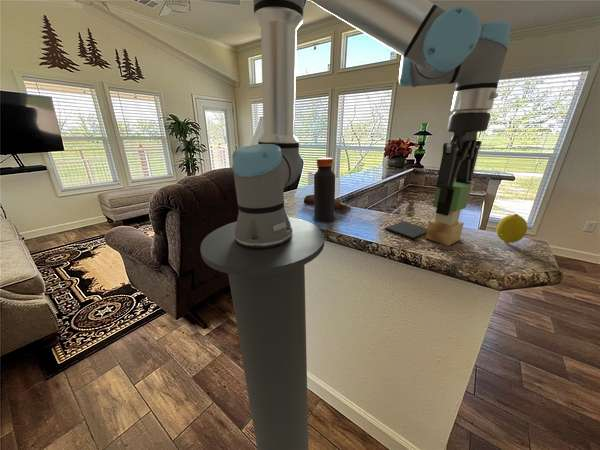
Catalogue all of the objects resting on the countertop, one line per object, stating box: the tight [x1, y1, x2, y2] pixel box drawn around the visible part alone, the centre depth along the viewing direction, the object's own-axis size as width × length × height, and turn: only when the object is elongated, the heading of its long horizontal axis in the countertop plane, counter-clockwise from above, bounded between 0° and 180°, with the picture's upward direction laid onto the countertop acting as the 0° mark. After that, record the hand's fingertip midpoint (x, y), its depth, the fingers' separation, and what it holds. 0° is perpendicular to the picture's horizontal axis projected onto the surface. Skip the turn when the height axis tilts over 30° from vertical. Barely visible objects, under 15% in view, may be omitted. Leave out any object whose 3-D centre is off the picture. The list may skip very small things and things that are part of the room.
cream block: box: [434, 209, 462, 226], centre depth 61 cm, size 4×4×4 cm
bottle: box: [313, 157, 336, 223], centre depth 77 cm, size 7×7×20 cm
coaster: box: [384, 220, 428, 240], centre depth 69 cm, size 9×9×1 cm
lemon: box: [496, 213, 528, 244], centre depth 59 cm, size 6×6×8 cm
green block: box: [432, 181, 472, 212], centre depth 59 cm, size 6×6×6 cm
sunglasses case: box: [303, 194, 351, 213], centre depth 93 cm, size 18×7×7 cm
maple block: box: [425, 218, 464, 247], centre depth 63 cm, size 6×6×5 cm
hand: (448, 211), depth 61 cm, fingers closed on green block, 5 cm apart
